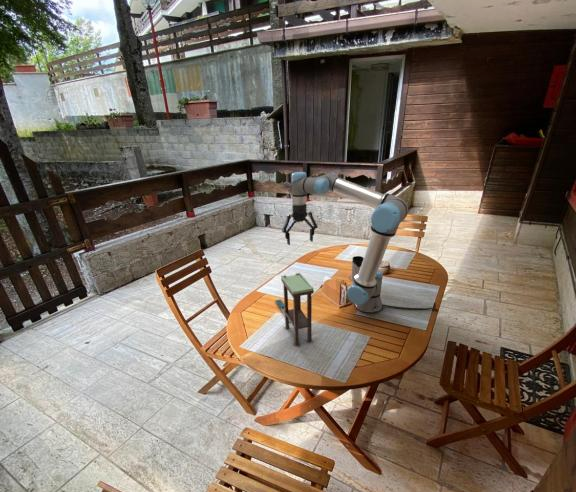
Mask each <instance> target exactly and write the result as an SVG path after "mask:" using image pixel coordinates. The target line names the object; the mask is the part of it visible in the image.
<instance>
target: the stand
mask: <svg viewBox="0 0 576 492" xmlns="http://www.w3.org/2000/svg"><path fill="white" fill-rule="evenodd" d="M280 280H281V283H282V285H283V286H282V287H283V304H284V307H285V315H284V323H285V324H284V325H285V330H286V329H290V324H291V325H292V327H293V330H294V331H293V332H294V333H293V334H294V335H293V336H294V345H295V346H299V345H300V343H299V330H302V329H306V335H307V343H312V298H313V297H312V296H313V295H312V294H314V292H315V291H314V289H313V291H308V292H303V293H297V294H292V292H291V291H290V289H289V288H288V287H287V285H286V284H285V282H284V281H283V280H282V278H280ZM289 294H290V295H291V297H292V302H293V303H292V304H293V306H292V307H293V308H291V309H289ZM302 296H306V314H305V313H304V311H303V310H302V305H301V303H302V302H301V300H302V299H301V297H302ZM289 320H290V322H289Z"/></svg>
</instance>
